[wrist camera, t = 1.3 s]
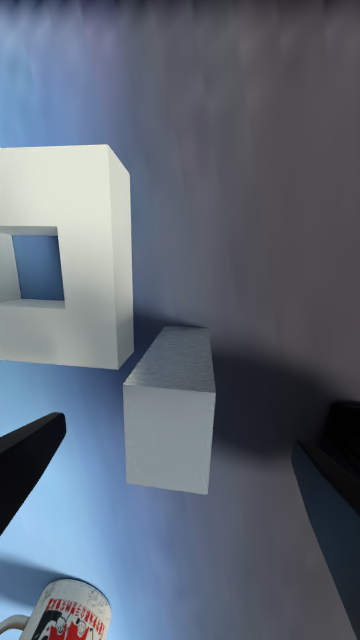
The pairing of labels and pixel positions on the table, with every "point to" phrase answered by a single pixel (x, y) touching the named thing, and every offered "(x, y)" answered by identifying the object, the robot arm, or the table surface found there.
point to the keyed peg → (171, 412)
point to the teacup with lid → (64, 614)
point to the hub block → (68, 255)
